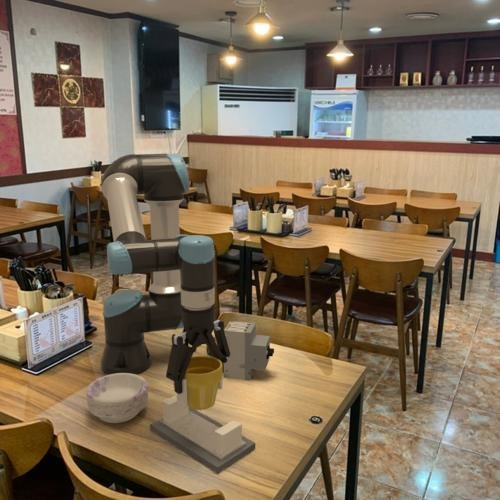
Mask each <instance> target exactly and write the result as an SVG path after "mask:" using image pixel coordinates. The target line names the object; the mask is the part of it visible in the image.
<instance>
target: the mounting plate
mask: <svg viewBox="0 0 500 500" xmlns="http://www.w3.org/2000/svg"><path fill="white" fill-rule="evenodd" d="M189 411H191V412H193V413H194V414H196V415H198V416H200V417H202V418H203V419H205V420H207V421H209V422H210V423H212V424H214V425H216V426H218V427H219V428H221V427H222V426H224V425H225V424H222V423H220V422H218V421H216V420H214V419H213V418H211V417H209V416H208V415H207V414H206V415H205V414H204V413H202V412H201V411H200V410H195V409H191V408H189ZM161 419H163V417H162V418H159V419H158V420H156V421H153V422H152V423H150V424H149V430H150V431H151V432H153V433H155V434H156V435H158V436H159V437H161V438H162V439H164V440H165V441H167V442H169V443H170V444H172V445H173V446H175V447H176V448H178V449H179V450H180V451H182V452H184V453H186V454H187V455H189V456H190V457H192V458H193V459H195V460H196V461H197V462H199V463H201V464H202V465H204V466H206V467H207V468H208V469H210V470H211V471H213V472H215V473H216V474H220V473H221V472H222V471H223V470H225V469H227V468H229V467H230V466H231V465H233V464H234V463H236V462H238V461H239V460H240V459H242V458H244V457H245V456H247V455H248V454H249V453H251V452H253V451H255V450H256V442H254V441H253V440H251V439H249V438H247V437H246V436H243V435H242V441H244V442H246V445H245V446H244V447H242V448H241V449H239V450H238V451H236V452H235V453H233V454H232V455H230V456H228V457H227V458H225V459H224V460H222V461H220V460H219V459H217V458H215V457H214V456H212V455H210V454H209V453H207V452H206V451H204V450H202V449H201V448H199V447H198V446H196V445H194V444H193V443H191V442H190V441H188V440H186V439H185V438H183V437H182V436H180V435H178V434H177V433H175V432H174V431H172V430H170V429H169V428H167V427H165V426H164V425H162V424H161V423H159V420H161Z"/></svg>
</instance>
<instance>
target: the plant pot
mask: <svg viewBox="0 0 500 500" xmlns="http://www.w3.org/2000/svg"><path fill="white" fill-rule="evenodd" d="M222 373H223V366H222V362H221V361H220V360H219V359H217V358H215V357H211V356H209V355H192V358H191V360H190V363H189V365H188V368H187V371H186V373H185V376H184V379H187V406H188V407H189V408H191V409H195V410H197V411H203V410H208V409H210V408H212V407H213V406H214V405H215V403H216V399H217V398H216V397H217V394H218V390H219V389H218V385H219V382H220V381H221V379H222V380H223V374H224V373H223V374H222Z"/></svg>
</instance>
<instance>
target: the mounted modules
mask: <svg viewBox="0 0 500 500" xmlns="http://www.w3.org/2000/svg"><path fill="white" fill-rule="evenodd" d="M162 413H163V414H162V415H163V417H162V418H164V420H165V421H167V422H168V423H172V422H174V421H175V420H177V419H179V418H181V417H183V416H185V415H187V414H189V407H188V406H186V407H183V406H181V405H180V404H178V403H177V394H175V395H173V396H171V397H168V398H167V399H164V400H162ZM223 425H224V426H222V427H221V428H219V429H217V430H216V431H215V451H216V452H218V453H219V454H221V455H225V454H226V453H228V452H229V451H231V450H233V449H234V448H236V447H237V446H239V445H240V444H242V436H243V433H242V432H243V431H242V429H243V426H242V425H243V424H242V423H241V422H238V421H236V420H235V419H234V420H231V421H230V422H228V423H226V424H223Z"/></svg>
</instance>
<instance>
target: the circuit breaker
mask: <svg viewBox="0 0 500 500" xmlns="http://www.w3.org/2000/svg"><path fill="white" fill-rule="evenodd" d="M256 328H257V327H256V322H245V321H244V322H243V321H229V322H228V324H227V325H226V327H224V332H225V336H226V340H227V343H228V347H229V351H230V356H229V357H226V359H227V362H226V363H224V372H223V378H224V379H225V378H227V379H231V380H232V379H234V380H243V381H251V380H252V378H253V375H254V373H255V371H256V370H262V371H265V370H267V368H268V367H267V366H268V364H269V362H270V360H271V359H270V357H273V356H274V354H275V353H274V352H275V348H271V345H270V344H271V337H270V335H261V334H257V331H256Z"/></svg>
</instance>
